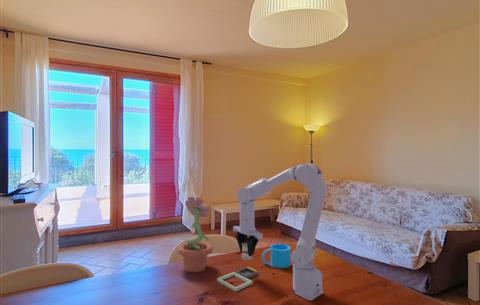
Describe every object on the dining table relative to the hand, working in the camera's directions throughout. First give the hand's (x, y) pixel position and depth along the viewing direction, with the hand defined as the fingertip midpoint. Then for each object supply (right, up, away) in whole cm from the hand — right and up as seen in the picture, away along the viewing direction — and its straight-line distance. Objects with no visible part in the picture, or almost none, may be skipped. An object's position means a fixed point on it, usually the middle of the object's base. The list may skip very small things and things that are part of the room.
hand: (247, 253), depth 107 cm
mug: (+12, -9, +10) cm, 18 cm away
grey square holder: (0, -9, 0) cm, 9 cm away
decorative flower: (-20, -9, +6) cm, 23 cm away
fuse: (0, -2, 0) cm, 2 cm away
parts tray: (-5, -9, -7) cm, 12 cm away
